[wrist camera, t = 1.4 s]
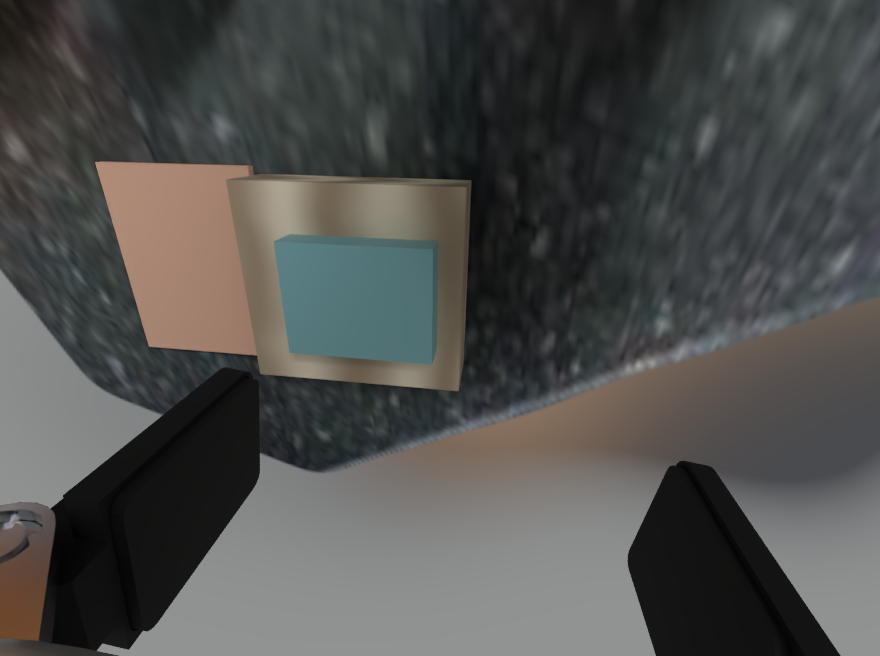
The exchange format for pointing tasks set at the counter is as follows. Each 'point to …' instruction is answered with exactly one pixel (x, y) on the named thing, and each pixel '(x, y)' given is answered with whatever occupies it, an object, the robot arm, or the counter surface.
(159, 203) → the mat
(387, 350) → the tile
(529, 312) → the counter surface
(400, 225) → the platform
